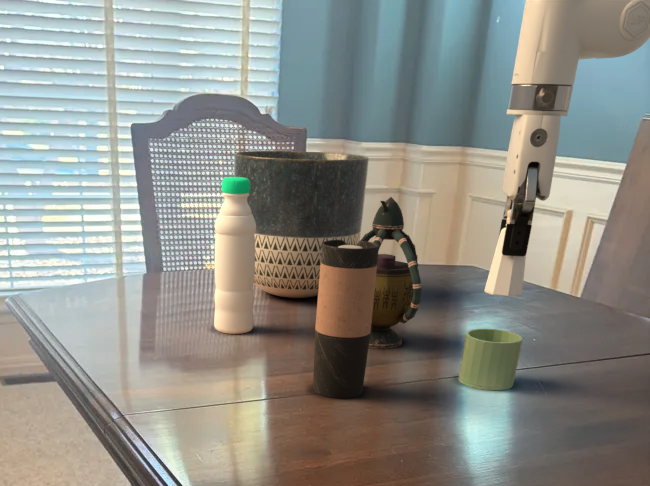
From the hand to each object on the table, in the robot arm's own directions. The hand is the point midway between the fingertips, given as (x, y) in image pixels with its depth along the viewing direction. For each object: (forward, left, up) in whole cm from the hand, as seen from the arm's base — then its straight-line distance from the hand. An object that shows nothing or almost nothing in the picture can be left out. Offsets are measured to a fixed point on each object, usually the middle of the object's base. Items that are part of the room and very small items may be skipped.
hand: (511, 251), depth 108 cm
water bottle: (+42, -20, -19) cm, 51 cm away
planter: (+34, -52, -19) cm, 65 cm away
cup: (0, +1, -19) cm, 19 cm away
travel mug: (+22, +10, -19) cm, 31 cm away
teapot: (+17, -22, -19) cm, 34 cm away
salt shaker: (0, 0, -6) cm, 6 cm away
